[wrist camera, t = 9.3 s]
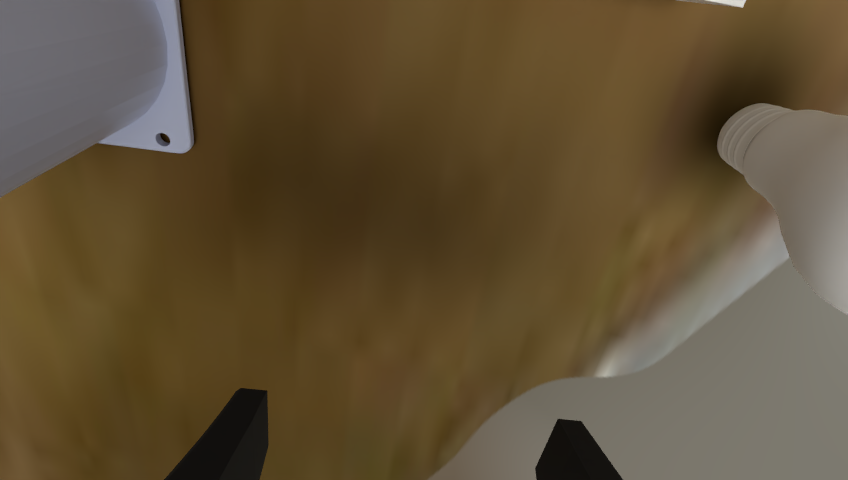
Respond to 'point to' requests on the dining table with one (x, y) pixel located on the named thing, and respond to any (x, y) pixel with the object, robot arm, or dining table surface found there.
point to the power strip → (720, 2)
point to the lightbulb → (799, 185)
